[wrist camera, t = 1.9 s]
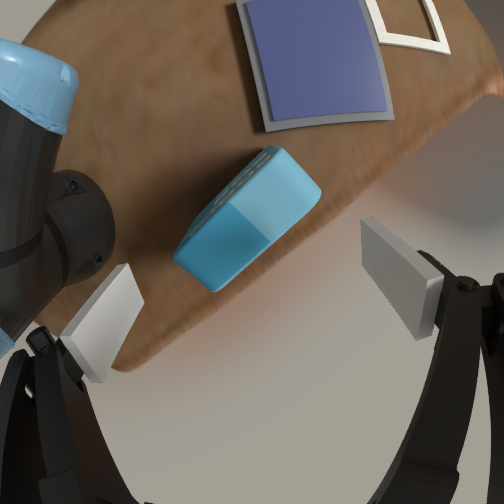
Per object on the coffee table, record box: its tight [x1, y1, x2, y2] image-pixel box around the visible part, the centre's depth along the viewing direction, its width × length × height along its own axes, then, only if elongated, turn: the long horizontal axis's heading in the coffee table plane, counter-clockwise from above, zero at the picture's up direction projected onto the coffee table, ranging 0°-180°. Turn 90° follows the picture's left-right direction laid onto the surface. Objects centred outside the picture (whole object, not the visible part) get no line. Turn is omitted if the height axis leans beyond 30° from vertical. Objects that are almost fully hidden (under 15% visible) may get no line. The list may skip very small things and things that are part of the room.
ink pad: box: [235, 0, 395, 132], centre depth 23 cm, size 15×17×2 cm
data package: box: [172, 145, 321, 292], centre depth 25 cm, size 12×4×12 cm, turn 135°
